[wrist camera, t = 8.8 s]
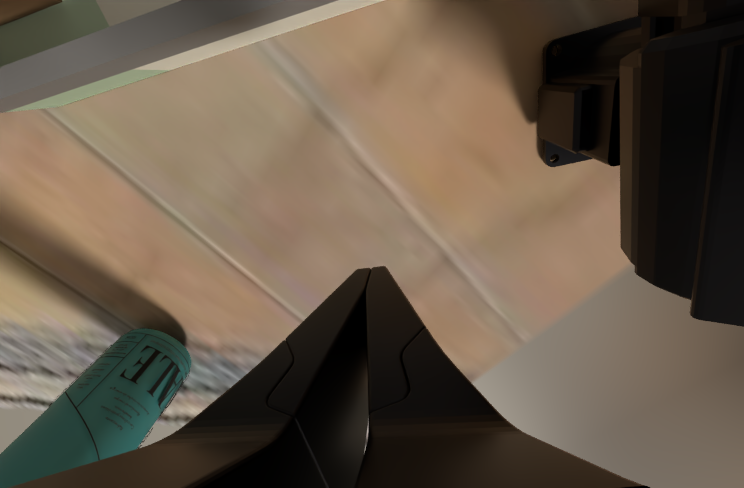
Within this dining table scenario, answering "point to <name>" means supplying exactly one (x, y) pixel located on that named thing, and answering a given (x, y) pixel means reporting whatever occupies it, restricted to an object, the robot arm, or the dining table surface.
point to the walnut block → (22, 8)
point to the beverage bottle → (101, 408)
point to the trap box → (134, 42)
